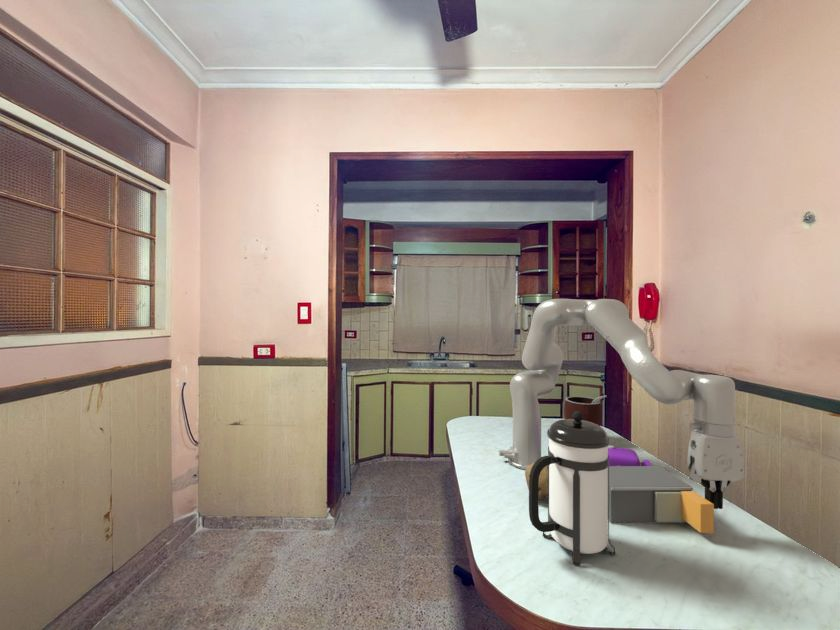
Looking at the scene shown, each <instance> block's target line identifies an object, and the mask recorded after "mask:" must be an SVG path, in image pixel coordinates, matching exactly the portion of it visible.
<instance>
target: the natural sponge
mask: <svg viewBox="0 0 840 630" xmlns="http://www.w3.org/2000/svg"><path fill="white" fill-rule="evenodd" d="M534 463H535V462H534ZM534 463H532V464H530V465H529V466H528V467H527V468H526V469H525V471H524V475H525V481H526V486H527V489H528V490H529V477H530V472H531V469H532V466H533V465H534ZM545 498H548V466H545V467H544V468H543V469H542V471H541V473H540V475H539V500H542V499H545Z"/></svg>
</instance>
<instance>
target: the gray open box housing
mask: <svg viewBox="0 0 840 630" xmlns="http://www.w3.org/2000/svg"><path fill="white" fill-rule="evenodd" d="M681 491H694V487H693V486H691V485H690V484H688V483H687V482H685V481H684V480H682V479H681V478H679V477H678V476H675V475H674V474H673V473H671V472H670V471H667V470H666V469H665V468H664V467H661V466H659V465H655V466H654V465H651V466H609V524H688V523H687V522H656V521H655V492H681Z"/></svg>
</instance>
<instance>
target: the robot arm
mask: <svg viewBox="0 0 840 630" xmlns="http://www.w3.org/2000/svg"><path fill="white" fill-rule="evenodd" d="M557 326H589V327H593V328H594V330H595V331H597V332H598V334H600V335H601V336H602V337H603V338H604V340H606V341H607V342H608V343H609V344H610V346H611V347H612V348H613V349H615V351H616V352H617V353H618V354H619V356H620V358H621V361H622V363H623V364H624V365H625V368H626V369H627V372H629V374H630V376H631V377H632V378H633V379H634V380H635V382H637V383H638V385H639V386H640V387H641V388H642V389H643V390H644V391H645V392H646V393H647V394H648V395H649V396H650V397H652V399H654V400H655V401H657V402H659V403H661V404H663V405H664V404H665V405H676V404H680V403H682V402H683V401H689V400H692V401H693V423H692V422H691V423H689V428H690V429H691V430H692V431H691V433H690V435H689V440H688V447H687V457H686V458H687V460H686V461H687V463H686V464H687V470H688V471H689V472H690V473H689V477H688V478H689V480H691V481H693V482H695V483H698V484H701V486H703V487H704V498H705V499H706V500H708V501H710V502H711V503H713V504H714V510H718V509H719V510H722V509H723V508H724V506H723V505H724V503H723V501H724V500H723V499H724V493H725V492H726V491H727V487H728V486H729V485H730V484H733V483H736V482H738V481H740V480H742V479H743V478H744V475H745V474H744V472H745V471H744V470H745V469H744V457H743V455H744V454H743V450H742V444H741V441H740V439H739V436H738V435H737V434H736V383H735V381H734V380H733V379H732V378H731V377H728V376H726V375H725V376H724V375H719V374H718V375H717V374H701V373H697V372H692V371H688V370H684V369H683V370H682V369H672V370H669V369H667V367H665V365H663V364H662V363H661V362H660V361H659V360H658V359H657V357H655V355H654V354H653V352H652V350H651V349H650V346H649V344H648V343H649V342H648V336H647V334H646V332H645V331H644V330H643V329H642V328H641V327H639V326H638V324H636V323H635V322H634V321H633V320H632V319H631V318H630V317H629V309H628V308H627V305H625V303H623V302H622V301H621V300H617V299H613V298H612V299H611V298H598V299H575V298H574V299H573V298H572V299H571V298H551V299H548V300H544V301H543V302H541V303H539V304H538V306H537V307H536V308H535V310H534V311H533V314H532V319H531V324H530V328H529V331H528V334H527V337H526V340H525V344H524V347H523V351H522V355H521V363H522V365H523V366H524V368H526V369H527V370H526V371H521V372H518V373H516V374H515V375H513V377H512V378H511V380H510V381H509V391H510V392H509V393H510V396H511V404H512V407H511V408H512V446H510V448H509V449H507V450H505V449H504V450H503V449H499V450H498V455H499V457H504V459H507V461H508V463H509V464H510V465H511V466H513V467H515V468H517V469H521V470H526V468H527V467H528V466H529V465H530V464H532V463H534V462H536V461H537V460H538V459H539V458H541V457H542V409H541V405H540V403H539V401H538V400H539V399H538V398H540V397H544V396H548V395H550V394H551V393H553V390H554V389H555V386H556V383H557V381H558V379H559V375H560V371H561V368H562V366H563V365H562V364H563V361H564V353H563V351H562V348H561V347H560V345H558V343H555V339H556V337H557Z"/></svg>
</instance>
